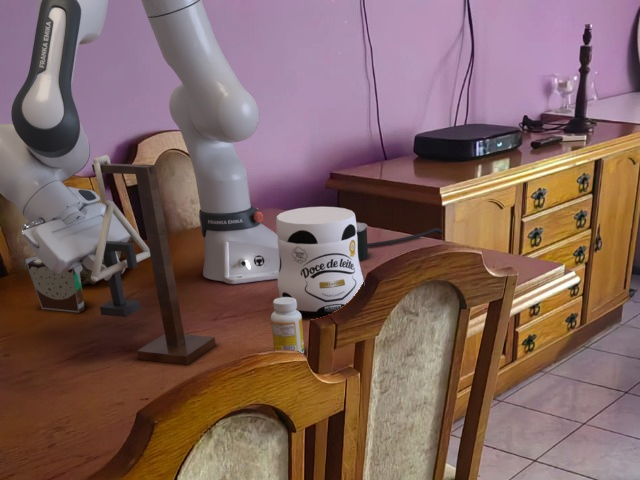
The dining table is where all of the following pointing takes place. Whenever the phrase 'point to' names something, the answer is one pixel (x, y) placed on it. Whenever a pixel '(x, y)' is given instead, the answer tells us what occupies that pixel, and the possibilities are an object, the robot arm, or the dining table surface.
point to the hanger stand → (174, 341)
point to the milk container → (318, 258)
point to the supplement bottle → (287, 325)
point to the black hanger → (119, 281)
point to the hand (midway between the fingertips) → (116, 274)
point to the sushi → (362, 241)
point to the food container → (56, 287)
